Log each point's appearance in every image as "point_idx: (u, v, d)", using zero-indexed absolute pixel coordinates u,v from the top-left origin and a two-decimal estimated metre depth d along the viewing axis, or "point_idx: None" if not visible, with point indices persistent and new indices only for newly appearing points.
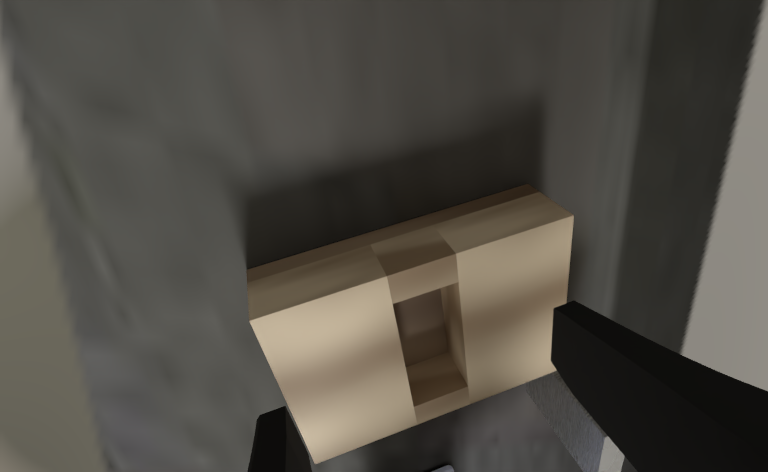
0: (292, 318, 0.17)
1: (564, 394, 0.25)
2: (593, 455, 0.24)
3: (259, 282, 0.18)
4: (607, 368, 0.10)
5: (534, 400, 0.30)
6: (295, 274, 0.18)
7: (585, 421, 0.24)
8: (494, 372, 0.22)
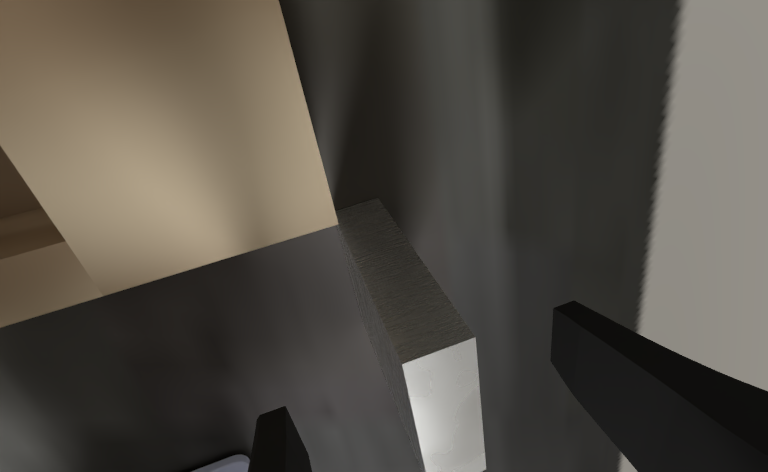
0: None
1: (365, 289, 0.12)
2: (410, 418, 0.10)
3: None
4: (607, 368, 0.10)
5: (367, 332, 0.16)
6: None
7: (386, 338, 0.10)
8: (132, 206, 0.09)
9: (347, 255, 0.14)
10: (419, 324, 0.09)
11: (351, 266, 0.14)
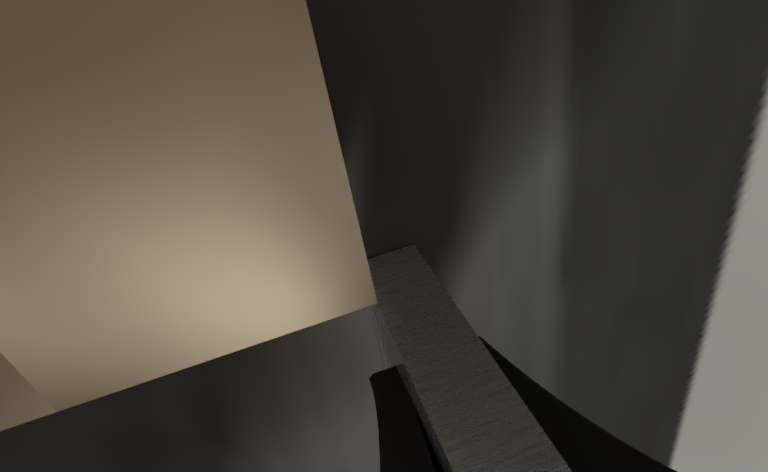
0: None
1: (408, 382, 0.09)
2: None
3: None
4: None
5: None
6: None
7: (444, 466, 0.07)
8: (93, 297, 0.06)
9: (377, 319, 0.11)
10: (497, 460, 0.07)
11: (383, 334, 0.11)
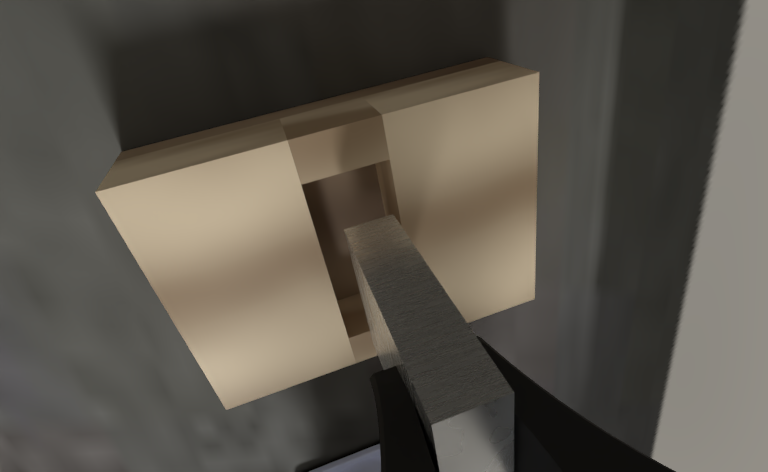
0: (159, 194, 0.13)
1: (382, 323, 0.10)
2: None
3: (129, 159, 0.14)
4: None
5: (378, 355, 0.15)
6: (176, 149, 0.14)
7: (408, 384, 0.09)
8: (449, 296, 0.18)
9: (360, 278, 0.13)
10: (448, 373, 0.08)
11: (364, 290, 0.13)
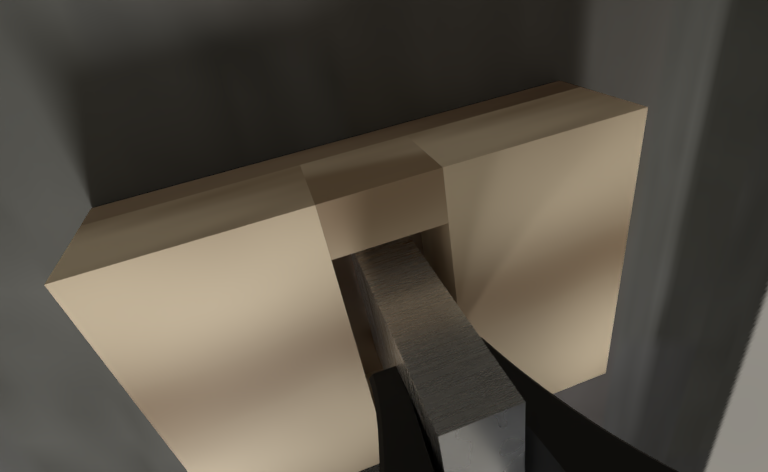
0: (136, 282, 0.09)
1: (386, 328, 0.10)
2: None
3: (99, 224, 0.11)
4: None
5: (381, 363, 0.15)
6: (162, 210, 0.11)
7: (413, 393, 0.09)
8: None
9: (362, 283, 0.12)
10: (454, 381, 0.08)
11: (367, 295, 0.12)
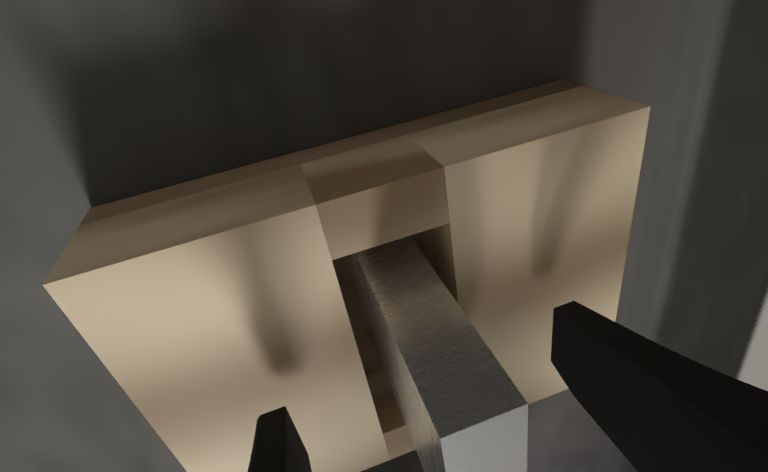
0: (135, 283, 0.09)
1: (387, 329, 0.10)
2: None
3: (98, 224, 0.10)
4: (607, 368, 0.10)
5: (382, 363, 0.15)
6: (162, 209, 0.11)
7: (414, 394, 0.09)
8: None
9: (363, 283, 0.12)
10: (456, 383, 0.08)
11: (367, 296, 0.12)
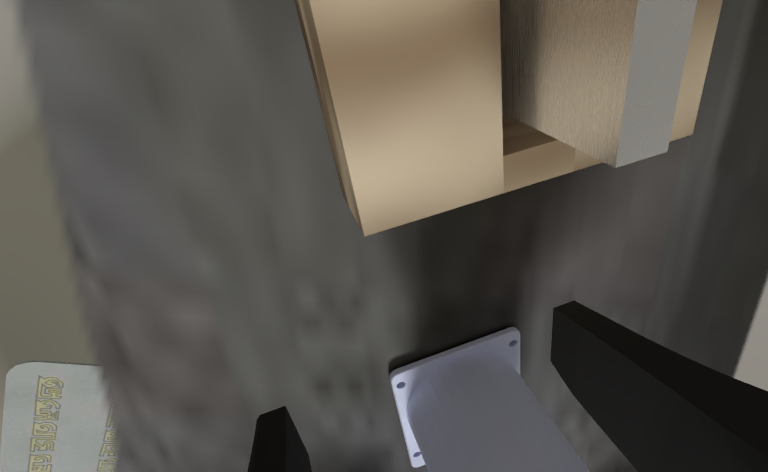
0: None
1: None
2: (614, 61, 0.10)
3: None
4: (607, 368, 0.10)
5: None
6: None
7: None
8: None
9: None
10: None
11: None
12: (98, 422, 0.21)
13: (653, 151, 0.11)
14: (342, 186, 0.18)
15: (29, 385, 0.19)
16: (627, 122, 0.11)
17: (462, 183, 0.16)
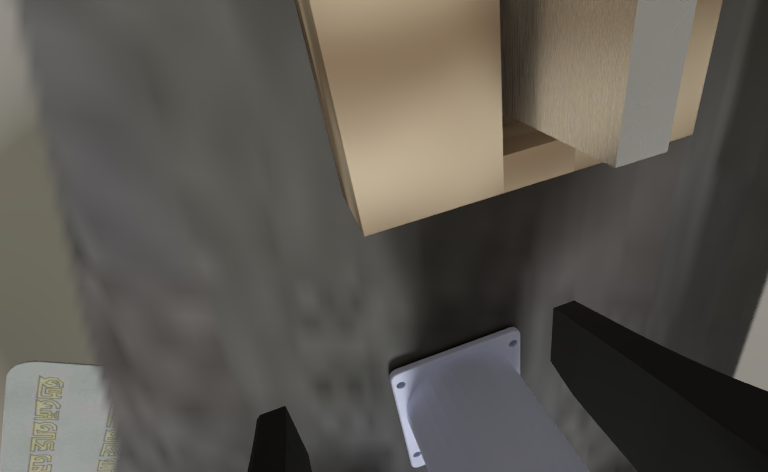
0: None
1: None
2: (614, 61, 0.10)
3: None
4: (607, 368, 0.10)
5: None
6: None
7: None
8: None
9: None
10: None
11: None
12: (98, 421, 0.21)
13: (653, 151, 0.11)
14: (342, 186, 0.18)
15: (30, 385, 0.19)
16: (627, 122, 0.11)
17: (462, 183, 0.16)
